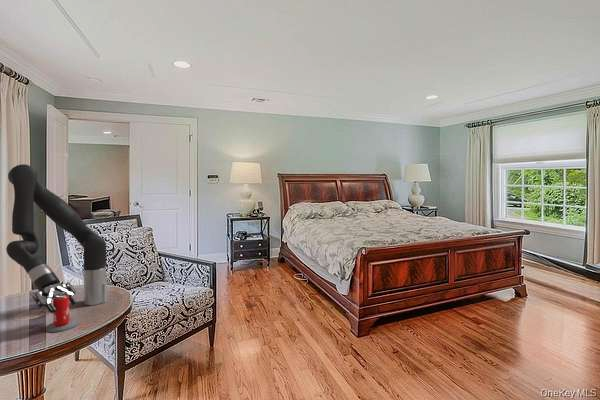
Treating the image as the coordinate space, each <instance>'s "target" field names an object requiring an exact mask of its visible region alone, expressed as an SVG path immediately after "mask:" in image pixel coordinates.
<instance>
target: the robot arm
mask: <svg viewBox="0 0 600 400" xmlns="http://www.w3.org/2000/svg"><path fill="white" fill-rule="evenodd" d="M38 176H39V174H38V171H37V169H35V168H34V167H33V166H31V165H29V164H18V165H14V166H13V167H12V168H11V169H10V170H9V172H8V174H7V177H8V181H9V182H10V183H11V184H12V186H13V190H14V192H13V193H14V201H13V208H12V216H11V219H12V220H11V230H12V231H11V232H12V234H13V235H17V236H18V235H19V236H20V237H21V238H22V240H12V241H10V242H9V243H8V244H7V245H6V248H5V249H6V250H5V251H6V253H7V255H8V257H9V258H11V260H12V261H14V262H15V263H17V265H20V266H21V267H23V270H24V271H26V273H27V275H28V277H29V279H30V280H31V282H32V284H33V285H34V286H35V288H36V289H37V291H35V293H34V294H33V295H32V298H33V300H34V301H35V304H36V305H37V306H38V308H42V307H45V308H46V310H47V311H48V312H49V313H51V314H53V313H54V312H55V311H56V308H55V307H54V305H53V302H51V301H52V300H53V299H54V297H55V296H57V295H61V294H68V296H69V303H71V306H75V305H76V304H77V303H78V299H77V298H76V297H75V294H76V293H77V289H76V288H74V286H73V285H72V283H71V282H70V281H66V283H64V284H62V283H61V282H60V279H59V277H58V276H57V275H56V273H55V272H54V271H53V269H52V268H51V267H50V266H49V265H48V263H47V262H46V261H45V259H44V258H43V257H42V256H41V255H38V254H37V253H38V251H39V248H40V244H39V241H38V240H39V239H38V238H37V234H36V232H35V228H34V226H35V222H34V220H35V217H34V216H35V215H34V214H35V213H34V211H35V210H34V209H35V208H34V203H35V204H36V206H37V207H38V208H39V209H40V210H41V211H42V212H43V213H44V214H45V215H46V216H47V217H48V218H49V219H50V221H52V222H53V223H55V224H56V225H57V226H58V227H59V228H61V229H63V230H64V231H66V232H67V233H68V234H70V235H71V236H72V237H74V238H75V240H76V241H77V242H78V243H79V244H80V246H81V247H82V248H83V300H84V305H85V306H94V305H95V306H96V305H101V304H104V303H105V304H106V302H107V300H108V280H107V268H106V265H107V243H106V241H105V239H104V238H103V237H102V236H101V235H98V234H97V233H96V232H95V231H94V230H92V229H91V228H90V227H89V226H88V225H86V223H85V221H84V220H82V218H81V216H80V215H79V214H78V213H77V212H76V210H74V209H73V207H72V206H71V205H69V203H67V201H65V200H64V199H63V198H61V197H60V196H59V195H56V193H54V192H52V191H51V190H49V189H48V188H47V187H46V186H45V185H44V184H43V183H42V182H41V181H40V180H39V178H38ZM43 297H44V298H43Z"/></svg>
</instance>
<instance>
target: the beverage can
mask: <svg viewBox="0 0 600 400" xmlns="http://www.w3.org/2000/svg"><path fill="white" fill-rule="evenodd" d="M52 300H53V301H52V304H53V305H54V307H55V308H56V311H55V312H54V313H52V314H53V315H52V316H53V322H54V325H55V327H62V326H65V325H67V324H68V322H69V318H70V301H69V296H68V294H61V295H57V296H55V297H54V299H52Z"/></svg>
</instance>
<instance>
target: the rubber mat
mask: <svg viewBox="0 0 600 400" xmlns="http://www.w3.org/2000/svg"><path fill="white" fill-rule="evenodd" d="M79 325H80V320H79V319H78V318H70V317H69V322H68V324H67V325H65V326H62V327H55V325H54V321H53V322H51V323H49V324H48V325H46V327H45V330H46V332H48V333H60V332H66V331H69V330H72V329H74V328H76V327H78V326H79Z"/></svg>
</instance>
